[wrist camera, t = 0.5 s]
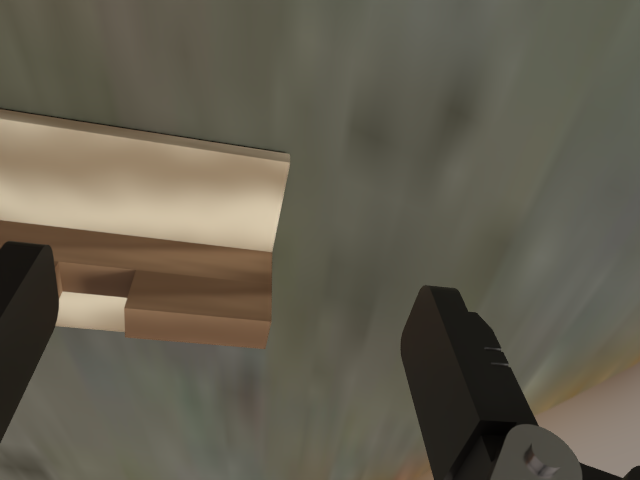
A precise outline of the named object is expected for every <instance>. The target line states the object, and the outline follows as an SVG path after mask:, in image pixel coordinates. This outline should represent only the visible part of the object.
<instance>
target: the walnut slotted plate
mask: <svg viewBox="0 0 640 480" xmlns="http://www.w3.org/2000/svg"><path fill="white" fill-rule="evenodd" d="M7 241H16V242H26V243H35V244H45V245H50V247H51V248H52V251H53V257H54V265H55V273H56V281H57V289H58V296H59V298H60V296H61V294H62V292H72V293H82V294H93V295H103V296H113V297H124V298H127V300H126V304H125V307H124V319H125V337H128V338H140V339H152V340H164V341H176V342H188V343H200V344H212V345H224V346H236V347H248V348H260V349H265V347H266V343H267V338H268V334H269V330H270V325H271V302H272V252H266V251H258V250H249V249H241V248H232V247H224V246H215V245H207V244H199V243H190V242H182V241H173V240H165V239H156V238H148V237H139V236H131V235H122V234H114V233H106V232H97V231H89V230H80V229H72V228H63V227H55V226H46V225H38V224H29V223H21V222H12V221H4V220H0V249H1V247H2V246H3V245H4V243H6V242H7Z"/></svg>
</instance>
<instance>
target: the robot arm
mask: <svg viewBox="0 0 640 480" xmlns="http://www.w3.org/2000/svg"><path fill="white" fill-rule="evenodd" d="M58 311H59V296H58V289H57V281H56V273H55V265H54V257H53V251H52V248H51V247H50V245H45V244H35V243H26V242H16V241H7V242H6V243H4V245H3V246H2V247H1V249H0V443H1V440H2V438H3V436H4V434H5V432H6V430H7V428H8V426H9V424H10V421H11V419H12V417H13V415H14V413H15V411H16V409H17V407H18V405H19V402H20V400H21V398H22V396H23V394H24V392H25V390H26V388H27V385H28V383H29V381H30V379H31V377H32V375H33V373H34V371H35V369H36V366H37V364H38V362H39V360H40V358H41V356H42V354H43V352H44V350H45V347H46V345H47V343H48V341H49V339H50V337H51V335H52V333H53V330H54V328H55V325H56V322H57V317H58ZM401 357H402V361H403V365H404V369H405V372H406V376H407V380H408V384H409V387H410V391H411V395H412V399H413V402H414V406H415V410H416V414H417V417H418V421H419V425H420V429H421V432H422V436H423V440H424V444H425V447H426V451H427V455H428V459H429V462H430V466H431V470H432V473H433V477H434V480H640V466H636V467H634V468H633V469H631V471H630V472H628V473H627V475H626V476H625V477H624V478H621V477H618V476H615V475H612V474H610V473H607V472H604V471H601V470H598V469H596V468H593V467H590V466H587V465H584V464H582V463H580V462H579V461H578V459H577V457H576V456H575V454H574V453H573V451H572V450H571V449H570V448H569V446H568V445H567V444H566V443H565V442H564V441H563V440H561V439H560V438H559V437H558V436H556V435H555V434H553V433H552V432H550V431H548V430H546V429H544V428H542V427H539V425H538V424H537V421H536V419H535V417H534V415H533V413H532V411H531V409H530V407H529V405H528V403H527V401H526V399H525V397H524V394H523V392H522V390H521V388H520V386H519V384H518V382H517V380H516V378H515V376H514V374H513V372H512V369H511V368H510V367H508V364H509V363H508V361H507V359H506V357H505V355H504V353H503V352H501V347H500V344H499V342H498V340H497V338H496V336H495V334H494V332H493V330H492V329H491V328H490V327H489V326H488V324H487V323H486V322H485V321H484V320H483V319H482V318H481V317H480V316H479V315H478V314H477V313H476V312H468V310H467V308H466V306H465V303H464V301H463V299H462V297H461V294H460V292H459V291H458V290H457V289H455V288H447V287H437V286H427V285H425V286H423V287H422V288H421V289H420V291H419V293H418V296H417V298H416V300H415V303H414V305H413V308H412V310H411V313H410V315H409V318H408V320H407V323H406V325H405V327H404V330H403V333H402V337H401Z"/></svg>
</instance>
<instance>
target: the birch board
mask: <svg viewBox="0 0 640 480" xmlns="http://www.w3.org/2000/svg"><path fill="white" fill-rule="evenodd" d="M289 166H290V154H287V153H280V152H274V151H267V150H261V149H254V148H248V147H241V146H235V145H228V144H222V143H215V142H209V141H202V140H196V139H190V138H183V137H177V136H170V135H164V134H157V133H151V132H144V131H138V130H131V129H125V128H118V127H112V126H106V125H99V124H93V123H86V122H80V121H73V120H67V119H60V118H54V117H47V116H41V115H34V114H28V113H22V112H15V111H9V110H2V109H0V220H4V221H12V222H21V223H29V224H38V225H46V226H55V227H63V228H72V229H80V230H89V231H97V232H106V233H114V234H122V235H131V236H139V237H148V238H156V239H165V240H173V241H182V242H190V243H199V244H207V245H215V246H224V247H232V248H241V249H249V250H258V251H266V252H272V250H273V245H274V240H275V235H276V230H277V225H278V220H279V215H280V210H281V206H282V201H283V196H284V191H285V186H286V181H287V176H288V171H289ZM126 300H127V298H124V297H113V296H103V295H93V294H82V293H72V292H62V294H61V296H60V298H59V311H58V317H57V322H56V325H55V326H62V327H73V328H85V329H97V330H109V331H120V332H125V319H124V307H125V304H126Z"/></svg>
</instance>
